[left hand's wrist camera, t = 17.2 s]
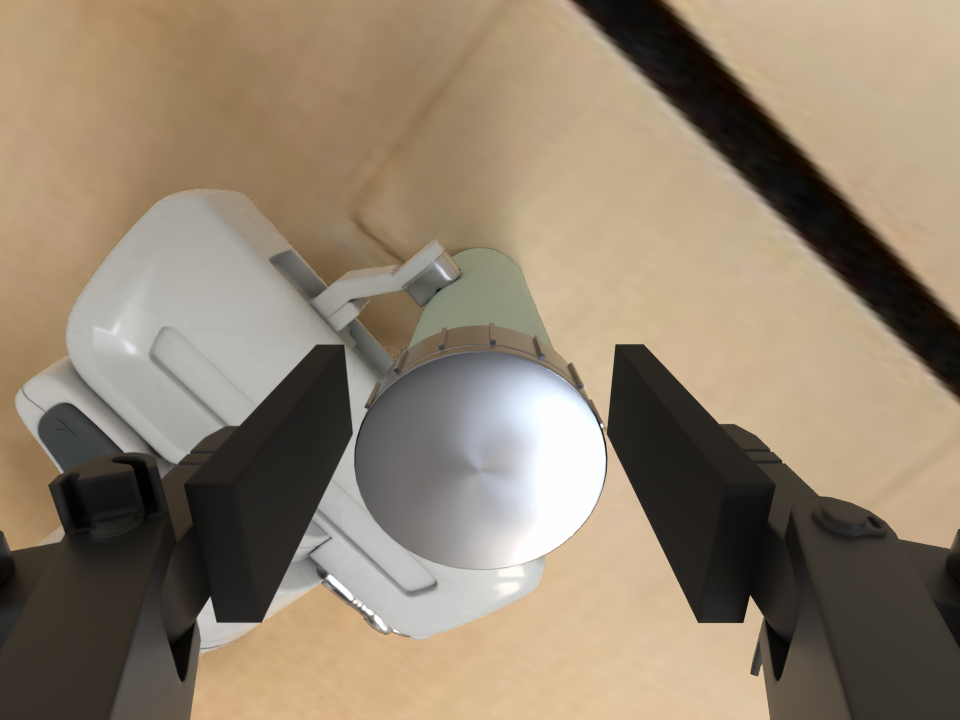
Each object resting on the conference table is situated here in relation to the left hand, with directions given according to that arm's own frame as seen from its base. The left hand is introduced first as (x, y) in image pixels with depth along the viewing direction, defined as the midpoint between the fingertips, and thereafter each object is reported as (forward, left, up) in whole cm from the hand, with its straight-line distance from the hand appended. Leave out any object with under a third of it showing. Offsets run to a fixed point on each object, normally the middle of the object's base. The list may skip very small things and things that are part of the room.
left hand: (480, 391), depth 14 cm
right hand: (-1, 0, -5) cm, 5 cm away
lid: (0, 0, +4) cm, 4 cm away
